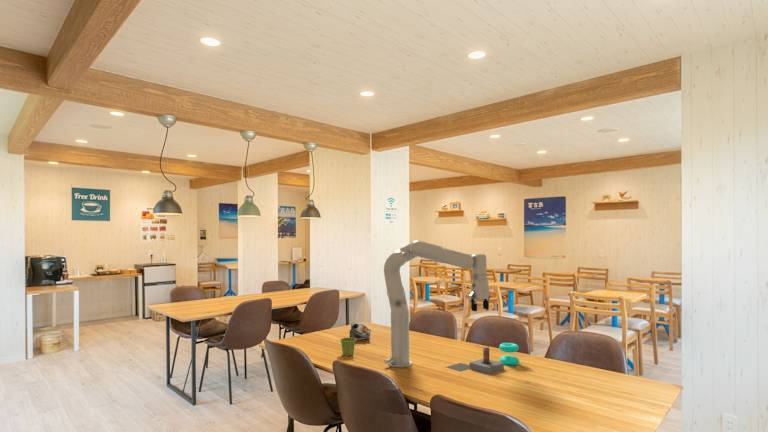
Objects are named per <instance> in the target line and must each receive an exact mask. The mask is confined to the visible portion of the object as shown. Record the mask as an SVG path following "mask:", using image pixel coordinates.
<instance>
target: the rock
mask: <svg viewBox="0 0 768 432" xmlns="http://www.w3.org/2000/svg"><path fill="white" fill-rule="evenodd" d="M350 325H351V326H350V327H351V329H349V338H355V339H356V342H358V341H360V340H367V339H370V338H371V332H372V329H371V328H369V327H368V326H367V325H366V324H364V323H363V322H356V323H354V322H352V323H350Z"/></svg>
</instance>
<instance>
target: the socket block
mask: <svg viewBox="0 0 768 432" xmlns="http://www.w3.org/2000/svg"><path fill="white" fill-rule="evenodd" d="M469 365H470V369H469V370H472V371H475V372H479V373H483V374H487V375H491V374H495V373H497V372H500V371H504V370H505V365H504V363H501V362H500V361H498V360H492V359H490V364H488V365H487V364H484V363H483V358H481V359H477V360H474V361H470V362H469Z"/></svg>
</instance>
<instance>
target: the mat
mask: <svg viewBox="0 0 768 432" xmlns="http://www.w3.org/2000/svg"><path fill="white" fill-rule="evenodd" d="M445 368H447V369H450V370H454V371H458V372H460V373H461V372H463V371H464V372H465V371H467V370H471V369H470V364H467V363H462V362H459V363H456V364H452V365H449V366H445Z"/></svg>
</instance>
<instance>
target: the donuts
mask: <svg viewBox="0 0 768 432" xmlns="http://www.w3.org/2000/svg"><path fill="white" fill-rule="evenodd" d="M498 349H500V351H501V352H504V353H509V354H511V353H516V352H518V351H519V349H520V347H519V345H518V344H516V343H514V342H502V343H501V344H499V346H498ZM499 362H501V363H504V366H509V367H512V366H513V367H515V366H517V365H519V364H520V359H519V358H518V357H517V356H514V355H507V354H506V355H502V356H501V357H500V358H499Z"/></svg>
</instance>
